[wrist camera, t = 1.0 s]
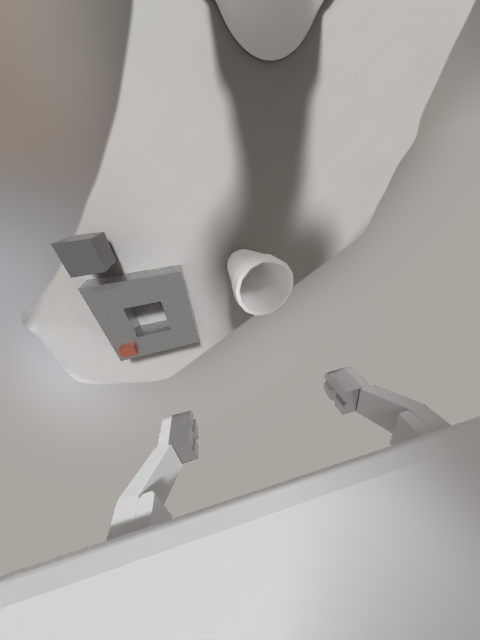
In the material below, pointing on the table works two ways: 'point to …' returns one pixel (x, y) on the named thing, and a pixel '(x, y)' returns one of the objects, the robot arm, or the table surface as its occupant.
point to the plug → (85, 254)
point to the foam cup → (259, 281)
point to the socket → (134, 290)
